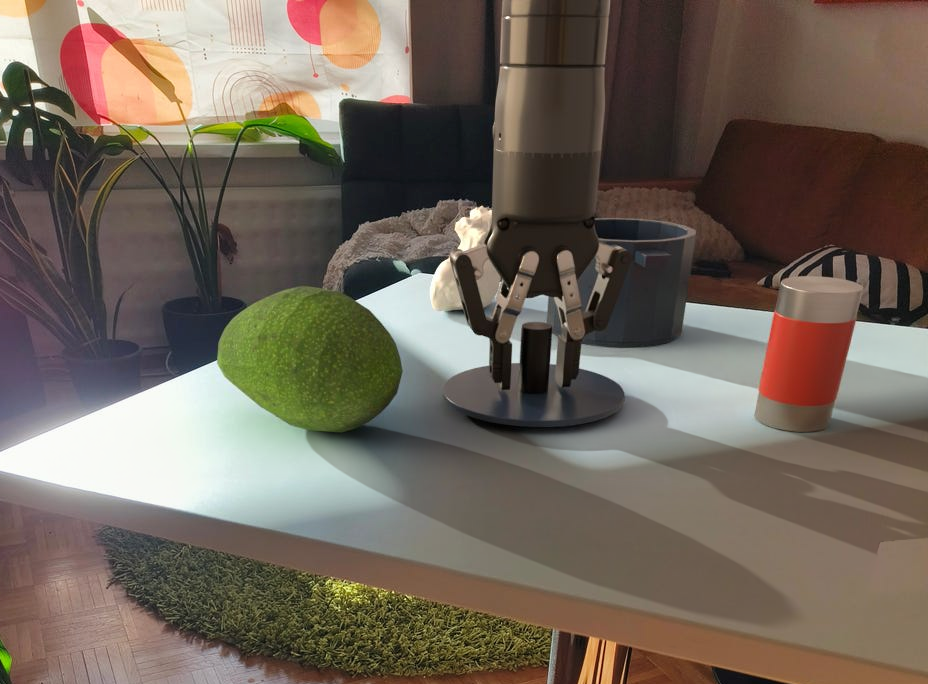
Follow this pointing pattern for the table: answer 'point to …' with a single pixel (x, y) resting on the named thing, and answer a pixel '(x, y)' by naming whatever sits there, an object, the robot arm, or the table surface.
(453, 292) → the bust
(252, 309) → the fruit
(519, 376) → the lid
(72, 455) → the table surface
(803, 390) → the can
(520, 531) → the table surface
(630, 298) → the pot
